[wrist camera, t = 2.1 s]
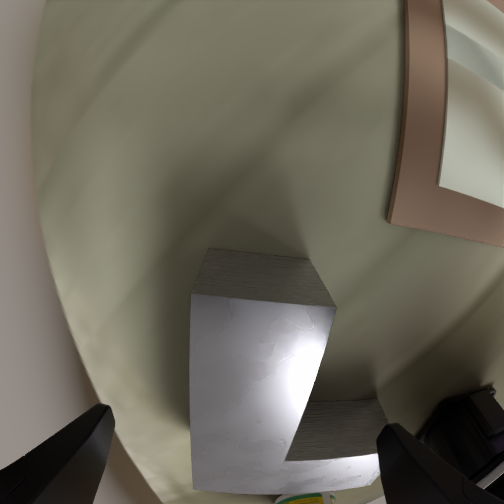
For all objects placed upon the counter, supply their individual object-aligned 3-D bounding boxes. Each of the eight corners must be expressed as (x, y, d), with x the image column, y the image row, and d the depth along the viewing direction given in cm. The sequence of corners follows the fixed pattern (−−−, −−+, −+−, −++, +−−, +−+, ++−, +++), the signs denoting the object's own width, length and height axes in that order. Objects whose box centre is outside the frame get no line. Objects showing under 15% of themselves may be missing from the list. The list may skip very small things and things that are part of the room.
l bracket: (355, 438, 16) (369, 484, 12) (200, 436, 15) (193, 489, 11) (428, 272, 12) (478, 311, 8) (208, 248, 12) (191, 293, 8)
